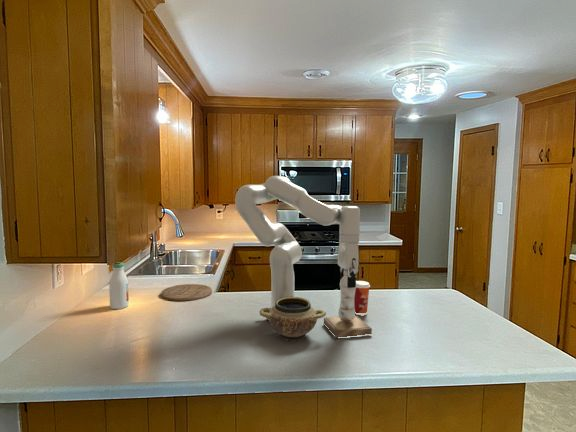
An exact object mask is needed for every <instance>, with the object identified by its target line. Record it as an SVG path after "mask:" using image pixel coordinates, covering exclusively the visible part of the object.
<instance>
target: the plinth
mask: <svg viewBox="0 0 576 432" xmlns="http://www.w3.org/2000/svg"><path fill="white" fill-rule="evenodd" d="M324 324H325V325H326V326H327V327H328V328H329V330H330V331H331V332H332V333H333V334H334V335H335V337H336V338H338V337H347V336H357V335H365V334H372V331H373V329H372V327H371V326H370V325H368V324H367V323H366V322H365V321H364V320H362V319H361V318H360V316H357V315H355V318H354V319H353V320H352V321H342V320H341V319H340V318H339V316H328V317H323V325H324ZM335 337H334V338H335Z"/></svg>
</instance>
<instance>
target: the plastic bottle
mask: <svg viewBox="0 0 576 432" xmlns="http://www.w3.org/2000/svg"><path fill="white" fill-rule="evenodd" d="M351 272H352V271H351ZM343 274H344V276H343V277H342V279H341V280H340V279H339V281H340V282H339V288H340V291H339V292H340V301H339V309H338V313H337V315H338V317H339V318H340V319H341V320H342V321H352V320H353V319H354V318H355V309H354V297H355V290H356V287H354V288H348V287H347V279H348V277H349V276H348V270H345V269H344V273H343Z"/></svg>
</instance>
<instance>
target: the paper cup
mask: <svg viewBox="0 0 576 432" xmlns="http://www.w3.org/2000/svg"><path fill="white" fill-rule="evenodd" d="M370 288H371V285H370V283H369V282H368V281H365V280H356V290H355V297H354V309H355V312H356V313H366V312H367V313H368V306H369V305H368V304H369V296H370V295H369V294H370Z"/></svg>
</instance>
